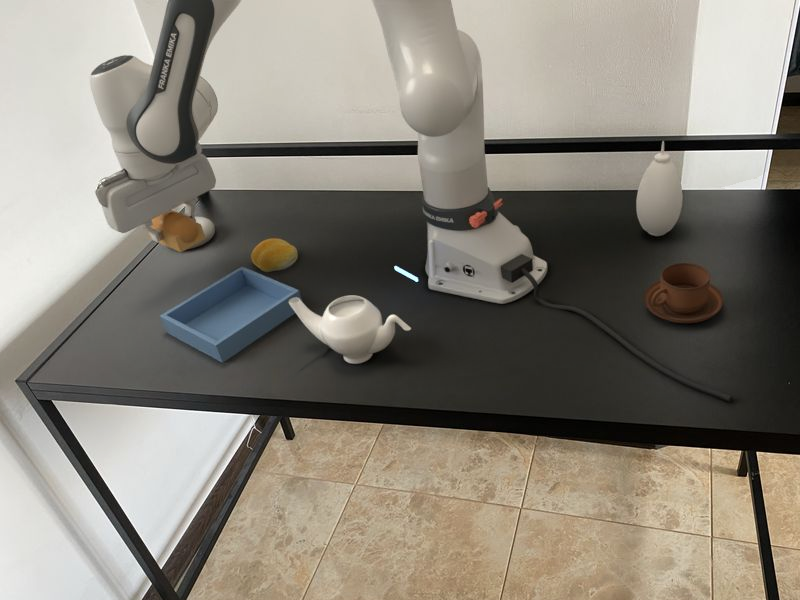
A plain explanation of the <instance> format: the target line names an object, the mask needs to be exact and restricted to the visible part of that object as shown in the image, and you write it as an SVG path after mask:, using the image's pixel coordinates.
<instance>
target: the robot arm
mask: <svg viewBox="0 0 800 600" xmlns="http://www.w3.org/2000/svg"><path fill="white" fill-rule="evenodd" d="M241 2H242V0H166V3H165V9H164V16H163V21H162V25H161V30H160V33H159V34H160V35H159V38H158V41H157V45H156V49H155V50H156V51H155V54H154V58H153V62H152V65H151V64H149V63H146V62H145V61H142V59H139V58H138V57H136V56H135V55H131V54H130V55H129V54H128V55H127V54H125V55H119V56H116V57H113V58H110V59H108V60H106V61H105V62H102V63H100V64H99V65H98V66H97V67H95V68H94V69H93V70H92V71H91V73H90V75H89V86H90V91H91V93H92V98H93V100H94V103H95V107H96V109H97V113H98V114H99V117H100V119H101V122H102V125H103V126H104V127H105V129H106V130H107V131H108V133H109V135H110V138H111V144H112V145H111V146H112V149H113V152H114V153H115V156H116V158H117V161H118V163H119V166H120V168H121V169H120V170H119V171H116V172H114V173H113V174H111V175H110V176H106V177H103V178H101V179H100V180H99V183H98V184H97V185H96V187H95V190H94V194H95V196H96V199H97V200H98V203H99V204H100V205H101V208H102V211H103V215H104V218H105V221H106V223H107V225H108V227H109V228H110V229H112V230H114V231H115V232H117V233H120V234H121V233H122V234H126V233H128V232H130V231H132V230H134V229H136V228H138V227H141V228H142V229H144V231H146V232H147V231H148V232H150V235H151V237H152V239H153V240H152V241H154V243H155V242H156V243H158V242H159V241H161V240H163V239H164V236H163V233H162V230H159V229H157V228H155V229H153V228H152V227H150V226H152V225H153V223H152V219H154V218H156V217H158V216H160V215H162V214H164V213H166V212H168V211H170V210H174V209H175V208H177V207H180V206H181V205H183V204H184V205H185V206H184V213H182V214H183V215H186V216H188V217H190V218H192V219H193V220H194V221H195V222H196V219H195V217H196V216H195V211H196V206H197V202H196V199H195V198H198V197H200V196H201V195H203V194H206V193H207V192H209V191H211V190H213V189H215V187H216V183H217V178H216V174H215V173H214V170H213V168H212V165H211V163H210V161H209V159H208V158H207V156H206V155H204V154H203V153H202V152H203V149H202V145H201V143H200V142H199V141H200V140H201V139H202V137H203V136H204V134H205V133H206V131H207V130H208V128H209V126H210V125H211V123H212V122H213V121H214V119H215V117H216V115H217V113H218V107H219V104H218V98H217V94H216V91H215V90H214V88H213V87H212V85H211V84H210V83H209V82H208V81H207V80H206V79H205V78H204V77H202V75H201V74H202V70H203V66H204V62H205V59H206V55H207V52H208V50H209V48H210V45H211V43H212V41H213V40H214V38H215V36H216V35H217V33H218V32H219V31H220V29H221V27H222V26H223V24H224V23H225V22H226V21H227V19H228V18H229V17H230V16H231V15H232V13H233V12H234V11H235V10H236V9H237V7H238V6H239V5H240V4H241ZM371 2H372V4H373V7H374V10H375V12H376V14H377V18H378V21H379V23H380V26H381V32H382V35H383V39H384V42H385V47H386V51H387V56H388V60H389V63H390V66H391V72H392V74H393V77H394V81H395V86H396V89H397V93H398V101H399V109H400V112H401V116H402V118H403V119H404V121H405V123H406V124H407V125H408V126H409V127H410V128H411V129H412V130H413V131H415V132H416V133H417V160H418V167H419V173H420V180H421V187H422V193H423V194H422V195H421V196H422V197H421V203H422V205H421V206H422V208H421V209H422V213H423V218H424V221H426V229H427V251H426V252H427V253H426V261H425V265H424V266H425V267H424V268H425V273H426V275H427V276H428V279H427V280H428V281H427V285H428V286H427V287H428V289H430V290H432V291H436V292H440V293H445V294H450V295H455V296H460V297H464V298H471V299H475V300H481V301H485V302H490V303H495V304H500V305H504V304H508V303H512V302H514V301H517V300H519V299H521V298H522V297H524V296H526V295H527V294H529V293H530V292H531V291H532V290H533V297H534V299H535V301H536V302H538V303H539V304H540V305H541V306H545V307H548V308H549V307H550V308H554V309H557V310H562V311H568V312H574V313H577V314H578V315H580V316H582V317H584V318H586V319H587V320H589V321H590V322H592V323H593V324H595V325H596V326H598V327H599V328H600V329H601V330H603V332H605V333H606V334H608V335H610V336H611V337H612V338H613V339H615V340H616V341H617V342H619V343H620V344H621V345H622V346H623V347H625V349H627V350H629V351H630V353H632V354H634V355H635V356H637V357H638V358H639V359H641V360H642V361H643V362H645V363H647V364H648V365H649V366H651V367H653V368H654V369H656V370H658V371H659V372H661V373H662V374H664V375H666V376H668V377H669V378H671V379H673V380H675V381H678V382H679V383H682V384H683V385H686V386H688V387H690V388H692V389H695V390H697V391H701V392H702V393H705V394H708V395H711V396H713V397H716V398H719V399H722V400H724V401H727V402H730V401H731V400H732V395H730V394H728V393H725V392H722V391H720V390H717V389H714V388H712V387H709V386H706V385H704V384H701V383H698V382H695V381H693V380H691V379H689V378H686V377H685V376H683V375H680V374H678V373H677V372H675V371H673V370H671V369H669V368H667V367H665V366H664V365H662V364H660V363H659V362H657V361H655V360H654V359H653V358H651V357H649V356H648V355H647V354H645V353H643V352H642V351H640V350H639V349H638V348H637V347H635V346H634V345H632V344H631V343H630V342H629V341H627V340H626V339H625V338H624V337H622V336H621V335H620V334H618V333H617V332H616V331H614V330H613V329H612V328H611V327H609V326H607V325H606V324H605V323H604V322H602V321H601V320H600V319H598V318H597V317H595V315H593V314H591V313H590V312H588V311H586V310H585V309H582V308H580V307H577V306H573V305H567V304H554V303H551V302H548V301H546V300H544V299H543V298H542V297H541V296H540V291H539V290H540V289H539V285H540V284H541V282H542V281H543V280H544V278H545V277H546V275H547V273H548V262H547V261H545V259H543V258H540V257H538V256H536V255H534V251H533V246H532V244H531V241H530V239H529V237H528V236H526V235H525V234H524V233H523V232H522V231H521V228H520V227H519V226H518V225H515V224H513V223H512V222H511V221H510V220H508V219H507V217H505V216H504V215H503V214H502V213H501V212H500V209H499V208H500V207H501V206H502V205H503V202H502V201H503V198H499V199H497V200H495V197H494V195H493V193H492V191H491V189H490V187H489V183H488V182H489V181H488V174H487V173H488V172H487V160H486V150H485V113H484V111H485V110H484V82H483V66H482V64H483V63H482V58H481V54H480V50H479V48H478V46H477V44H476V42H475V41H474V39H473V38H472V37H471V36H470V35H469V34H468V33H466V32H465V31H463V30H461V29H458V27H457V22H456V17H455V13H454V8H453V3H452V0H371ZM148 232H147V233H148ZM394 270H395V271H396V272H398V273H400V274H402V275H404V276H406V277H407V278H409V279H411V280H413V281H415V282H416V283H417V282H419V277H417V276H415V275H413V274H412V273H409V272H408V271H406V270H404V269H402V268H400V267H399V266H397V265H395V266H394Z"/></svg>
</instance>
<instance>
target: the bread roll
mask: <svg viewBox="0 0 800 600" xmlns="http://www.w3.org/2000/svg"><path fill="white" fill-rule="evenodd" d="M298 257H299V253H298V249H297V248H296V247H295V246H294V245H293V244H292V245H291V244H290V243H289V242H288V241H287V240H284V239H281V238H273V237H271V238H267V239H264V240H262V241H260V242H259V243H258V244H257V245H256V246H255V247H254V249H253V250H252V252H251V255H250V258H251V259H250V260H251V262H252V263H253V265H254V266H256V267H257V268H258V269H260V270H261V271H262V272H264V273H271V272H277V271H283V270H286V269H288V268H290V267H291V266H293V265H294V264H295V263H296V261H298Z"/></svg>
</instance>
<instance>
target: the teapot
mask: <svg viewBox="0 0 800 600" xmlns="http://www.w3.org/2000/svg"><path fill="white" fill-rule="evenodd" d="M289 304H290V306H291V307H292V309H293V310H294V312H295V314H296V316H297V317H298V319H299V320H300V321H301V322H302V324H303V325H304V326H305V327H306V329H307V330H308V331H309V332H310V333H311V334H312V335H313V336H314V337H315V338H316V339H318V340H319V341H320V342H321V343H323V344H324V345H326V346H328V347H329V348H330V349H332V350H333V351H334V352H336V353H337V354H340V355H342V357H343V361H345V362H347V363H348V364H353V365H356V364H362V363H365V362H367V361H368V360H370V359H371V358H372V356H373V354H376V353H379V352H381V351H384V350H385V349H386V348H388V346H389V345H390V344H391V343H392V341H393V339H394V338H395V334H396V324H397V325H398V326H399V327H401V328H402V330H404V331H406V332H409V331H410V330H412V327H411V326H409V325H408V323H406V322H405V321H404V320H403V319H402V318H400V317H399V316H398V315H396V314H394V313H393V314H390V315H389V316H387V318H386V320H385V323H384V320H383V316H382V313H381V311H380V310H379V308H378V307H377V306H376V305H375V304H373V303H372V302H371V301H370V300H368V299H367V298H365V297H363V296H360V295H354V294H353V295H350V294H349V295H344V296H341V297H337V298H336V299H334V300H332V301H331V302H330V303H329V304H328V305H327V306H326V308H325V309H324V312H323V314H322V315H319V314H317V313H316V312H313V311H312V310H311V309H310V308H309V307H307V305H306V304H305V303H304V302H303V300H302V301H301V300H300V299H299V298H297V297H295V298H291V299H290V300H289Z"/></svg>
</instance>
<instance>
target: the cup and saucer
mask: <svg viewBox="0 0 800 600" xmlns="http://www.w3.org/2000/svg"><path fill="white" fill-rule="evenodd" d="M710 281H711V274H710V272H709V270H708V269H707V268H705V266H701V265H699V264H697V263H692V262H677V263H672V264H670V265H667V266H666V267H664V268H663V269H662V270H661V274H660V280H657V281H656V282H653V283H652V284H651V285H650V286H649V287H648V288H646V290H645V292H644V296H643V299H644V303H645V306H646V307H647V309H648V310H649V311H650V312H651V313H652V314H654V315H655V316H657V317H658V318H661V319H662V320H665V321H668V322H671V323H677V324H694V323H700V322H703V321H706V320H708V319H710V318H713V317H714V316H716V315H717V314H718V313H719V312H720V311H721V309H722V308H723V304H724V297H723V294H722V293H721V291H720V290H719V289H718V288H717V287H716V286H715V285H713V284H712V283H711V282H710Z"/></svg>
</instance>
